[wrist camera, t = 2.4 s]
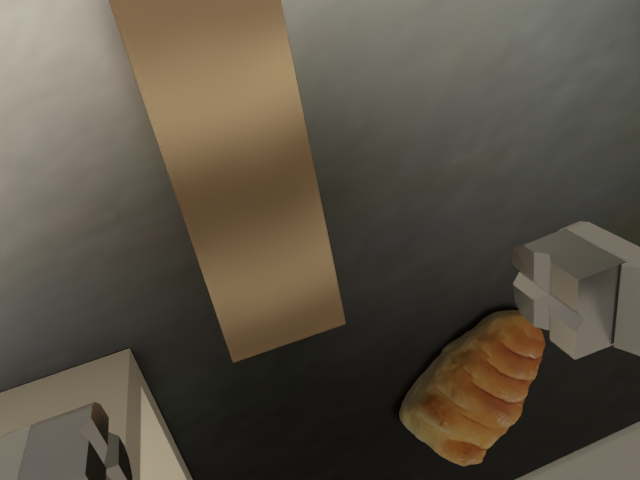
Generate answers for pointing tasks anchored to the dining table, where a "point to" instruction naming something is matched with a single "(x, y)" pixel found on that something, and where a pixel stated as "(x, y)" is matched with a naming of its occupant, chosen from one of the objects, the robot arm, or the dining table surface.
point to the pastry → (475, 387)
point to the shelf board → (237, 162)
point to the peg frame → (117, 401)
